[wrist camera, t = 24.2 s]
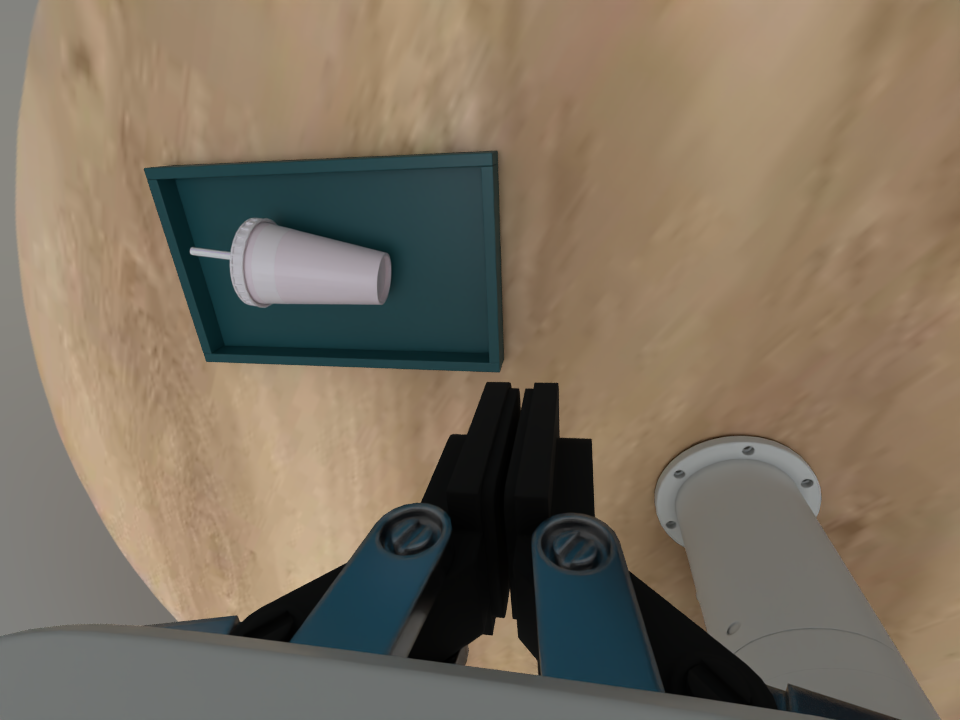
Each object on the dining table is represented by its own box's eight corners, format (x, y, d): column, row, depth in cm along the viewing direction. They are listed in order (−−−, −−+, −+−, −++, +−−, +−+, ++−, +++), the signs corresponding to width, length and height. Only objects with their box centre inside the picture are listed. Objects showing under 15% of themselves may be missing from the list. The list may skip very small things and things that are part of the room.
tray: (503, 359, 39) (499, 372, 37) (223, 350, 44) (206, 362, 42) (497, 150, 33) (492, 152, 30) (167, 165, 37) (143, 168, 35)
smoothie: (364, 301, 31) (153, 273, 31) (384, 336, 37) (207, 312, 37) (384, 214, 32) (184, 190, 33) (400, 261, 39) (231, 239, 39)
